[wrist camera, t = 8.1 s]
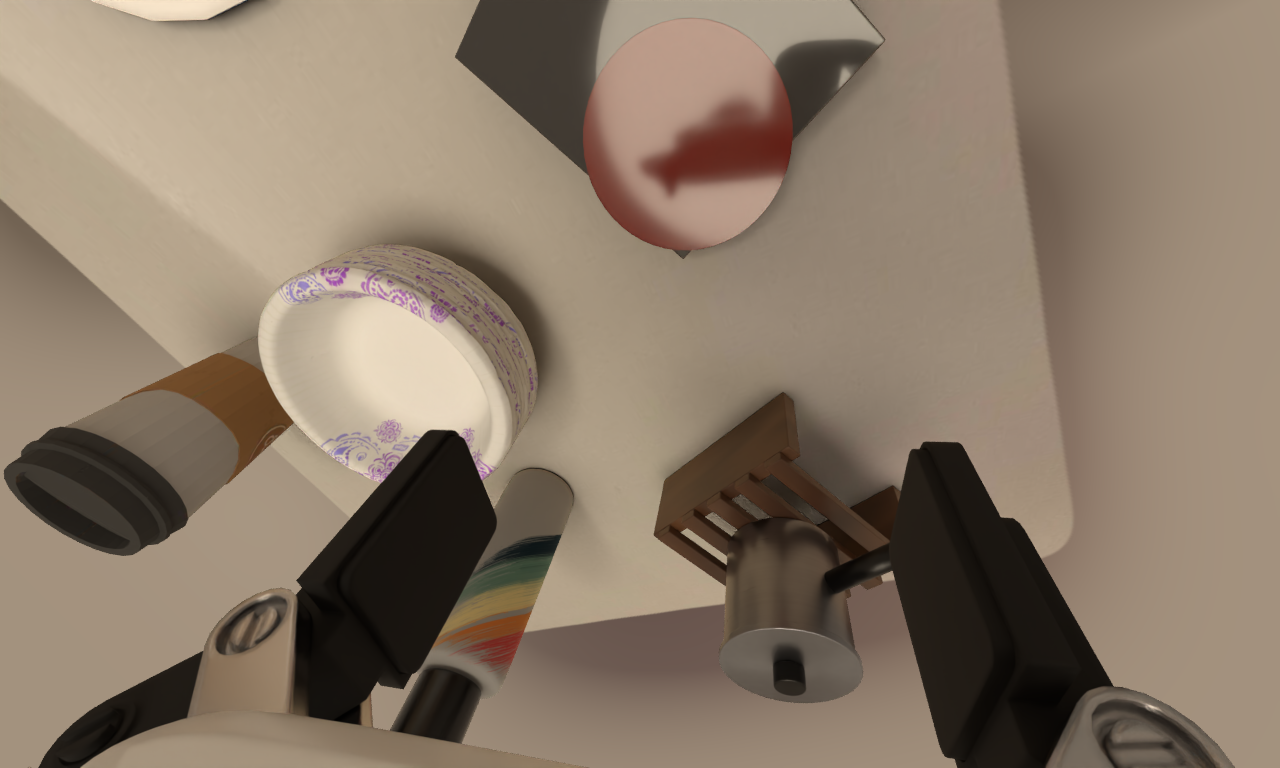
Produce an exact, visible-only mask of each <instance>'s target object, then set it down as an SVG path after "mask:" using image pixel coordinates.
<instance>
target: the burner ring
mask: <svg viewBox="0 0 1280 768" xmlns="http://www.w3.org/2000/svg"><path fill="white" fill-rule="evenodd" d="M792 139H793V122H792V114H791V107H790V103H789V99H788V95H787V91H786V89H785V86H784V84H783V81H782V79H781V77H780V75H779V73H778V71H777V70H776V68H775V66H774V64H773V63H772V61H771V60H770V59H769V58H768V56H767V55H766V54H765V53H764V51H763V50H762V49H761V48H760V47H759V46H758V45H757V44H756V43H754V42H753V41H752V40H751V39H750V38H749V37H747V36H746V35H744V34H743V33H741V32H740V31H738V30H736V29H734V28H732V27H730V26H728V25H725V24H723V23H720V22H716V21H712V20H709V19H700V18H681V19H674V20H669V21H665V22H661V23H659V24H656V25H654V26H651V27H649V28H647V29H645V30H643V31H642V32H640V33H638V34H637V35H635V36H633V37H632V38H631V39H630V40H628V41H627V42H626V43H625V44H623V45H622V46H621V47H620V48H619V49H618V50H617V52H616V53H615V54H614V55H613V56H612V57H611V58H610V60H609V61H608V62H607V64H606V65H605V66H604V68H603V69H602V71H601V73H600V75H599V77H598V78H597V80H596V82H595V84H594V87H593V89H592V92H591V94H590V97H589V100H588V104H587V108H586V112H585V119H584V126H583V147H584V157H585V162H586V166H587V171H588V174H589V177H590V180H591V183H592V185H593V187H594V190H595V192H596V194H597V196H598V198H599V199H600V201H601V202H602V204H603V206H604V207H605V209H606V210H607V211H608V212H609V214H610V215H611V216H612V217H613V218H614V219H615V220H616V221H617V222H618V223H619V224H620V225H621V226H622V227H623V228H624V229H626V230H627V231H628V232H630V233H631V234H632V235H634V236H636V237H637V238H639V239H641V240H643V241H645V242H647V243H650V244H652V245H655V246H658V247H662V248H666V249H672V250H698V249H704V248H708V247H712V246H715V245H718V244H720V243H723V242H726V241H727V240H729V239H731V238H733V237H735V236H737V235H738V234H740V233H741V232H743V231H744V230H745V229H747V228H748V227H749V226H750V225H751V224H753V223H754V222H755V221H756V220H757V219H758V218H759V217H760V216H761V214H762V213H763V212H764V211H765V210H766V209H767V207H768V206H769V204H770V203H771V201H772V200H773V198H774V197H775V195H776V193H777V191H778V190H779V188H780V186H781V184H782V181H783V179H784V176H785V173H786V171H787V167H788V163H789V159H790V155H791V148H792Z"/></svg>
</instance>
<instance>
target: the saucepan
mask: <svg viewBox="0 0 1280 768" xmlns="http://www.w3.org/2000/svg"><path fill="white" fill-rule="evenodd" d="M889 544H890V542H889V543H887V544H885V545H883V546H880V547H878V548H876V549H874V550H872V551H870V552H867V553H865V554H863V555H861V556H859V557H857V558H854V559H852V560H850V561H848V562H846V563H844V564H842V565H840V561H839V555H838V550H837V547H836V545H835V543H834V541H833V540H832V539H831V538H830V536H829V535H828V534H826V533H825V532H824V531H823V530H821V529H820V528H818V527H816V526H814V525H812V524H810V523H807V522H804V521H801V520H796V519H791V518H766V519H761V520H757V521H754V522H751V523H749V524H747V525H745V526H743V527H741V528H740V529H739V530H738V531H736V532H735V533H734V535H733V536H732V537H731V539H730V541H729V544H728V553H727V575H726V596H725V618H724V619H725V620H724V640H723V641H722V643H721V646H720V649H719V662H720V665H721V668H722V670H723V671H724V673H725V674H726V675H727V676H728V677H729V678H730V679H731V680H732V681H733V682H734V683H736V684H737V685H739V686H740V687H742V688H744V689H746V690H748V691H750V692H752V693H754V694H758V695H760V696H763V697H766V698H770V699H774V700H779V701H785V702H794V703H815V702H823V701H829V700H834V699H837V698H840V697H843V696H845V695H847V694H849V693H850V692H852V691H853V690H854V689H855V688H856V687H858V685H859V684H860V683H861V680H862V677H863V666H862V661H861V658H860V656H859V654H858V653H857V651H856V650H855V645H854V640H853V634H852V629H851V623H850V618H849V612H848V606H847V600H846V595H845V590H847V589H850V588H852V587H854V586H857V585H859V584H861V583H864V582H866V581H869V580H871V579H873V578H876V577H878V576H880V575H883V574H885V573H887V572H890V571H892V566H891V562H890V556H889Z"/></svg>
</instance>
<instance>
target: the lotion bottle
mask: <svg viewBox="0 0 1280 768" xmlns="http://www.w3.org/2000/svg"><path fill="white" fill-rule="evenodd" d="M572 505H573V494H572V492H571V490H570V488H569V486H568V485H567V484H566V483H565V482H564V481H563V480H562V479H561V478H560V477H558V476H557V475H555V474H553V473H551V472H548V471H545V470H541V469H526V470H523V471H520V472H518V473H517V474H516V475H515V476H514V477H513V478H512V479H511V481H510V482H509V484H508V485H507V487H506V489H505V490H504V492H503V494H502V496H501V497H500V499H499V501H498V503H497V504H496V506H495V508H494V512H495V514H496V517H497V527H496V530H495V533H494V535H493V536H492V538H491V540H490V542H489V544H488V546H487V547H486V549H485V551H484V553H483V555H482V557H481V558H480V560H479V562H478V564H477V566H476V568H475V569H474V571H473V573H472V575H471V577H470V579H469V580H468V582H467V584H466V586H465V588H464V590H463V591H462V593H461V595H460V597H459V599H458V601H457V603H456V604H455V606H454V608H453V610H452V612H451V614H450V615H449V617H448V619H447V621H446V623H445V625H444V626H443V628H442V630H441V632H440V634H439V636H438V637H437V639H436V641H435V643H434V645H433V647H432V648H431V650H430V652H429V654H428V656H427V658H426V659H425V661H424V663H423V665H422V666H421V668H420V669H419V670H418V671H417V673H418V674H419V677H418V679H417V680H416V682H415V684H414V686H413V688H412V690H411V692H410V694H409V695H408V697H407V699H406V701H405V703H404V705H403V707H402V708H401V711H400V712H399V714H398V716H397V718H396V720H395V721H394V723H393V725H392V727H391V729H390V731H394V732H399V733H405V734H410V735H416V736H421V737H427V738H432V739H438V740H443V741H448V742H454V743H459V744H461V743H462V741H463V738H464V736H465V734H466V731H467V729H468V727H469V724H470V722H471V720H472V717H473V715H474V712H475V710H476V708H477V705H478V703H479V700H480V699H487V698H490V697H493V696H495V695H496V694H497V693H498V692H499V691H500V689H501V687H502V685H503V683H504V680H505V678H506V675H507V673H508V670H509V668H510V665H511V663H512V660H513V658H514V655H515V653H516V650H517V647H518V645H519V643H520V640H521V637H522V635H523V632H524V630H525V627H526V625H527V622H528V620H529V617H530V614H531V612H532V609H533V607H534V604H535V602H536V599H537V597H538V594H539V592H540V589H541V586H542V584H543V581H544V579H545V576H546V574H547V571H548V569H549V566H550V563H551V561H552V558H553V556H554V553H555V551H556V548H557V546H558V543H559V540H560V538H561V535H562V533H563V530H564V528H565V525H566V523H567V520H568V517H569V514H570V512H571V509H572Z"/></svg>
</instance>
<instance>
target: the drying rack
mask: <svg viewBox="0 0 1280 768" xmlns="http://www.w3.org/2000/svg"><path fill="white" fill-rule="evenodd" d="M799 456H800V450H799V442H798V434H797V426H796V418H795V410H794V402H793V400H792V399H791V398H789V397H788V396H787V395H786V394H785V393H782V394H780V395H779V396H777V397H776V398H775V399H773V400H772V401H771V402H769V403H768V404H767V405H765V406H764V407H763V408H761V409H760V410H759V411H757V412H756V413H755V414H753V415H752V416H751V417H749V418H748V419H747V420H745V421H744V422H742V423H741V424H740V425H738V426H737V427H736V428H734V429H733V430H732V431H730V432H729V433H728V434H726V435H725V436H724V437H722V438H721V439H720V440H718V441H717V442H716V443H714V444H713V445H712V446H710V447H709V448H707V449H706V450H705V451H703V452H702V453H701V454H699V455H698V456H697V457H695V458H694V459H693V460H691V461H690V462H689V463H687V464H686V465H685V466H683V467H682V468H681V469H679V470H678V471H676V472H675V473H674V474H672V475H671V476H670V477H668V478H667V479H666V480H665V481H664V486H663V491H662V496H661V501H660V506H659V511H658V516H657V521H656V526H655V531H654V536H655V537H657V538H658V539H659V540H660V541H661V542H663V543H664V544H666V545H667V546H669V547H670V548H671V549H673V550H674V551H676V552H677V553H679V554H680V555H682V556H683V557H684V558H686V559H687V560H689V561H690V562H692V563H693V564H694V565H696V566H697V567H699V568H700V569H702V570H703V571H705V572H706V573H707V574H709V575H710V576H712V577H713V578H715V579H716V580H717V581H719V582H720V583H722V584H723V585H725V586H726V575H727V565H726V564H724V563H723V562H721V561H720V560H718V559H717V558H716V557H714V556H713V555H711V554H710V553H709V552H707V551H706V550H704V549H703V548H702V547H700V546H699V545H697V544H696V543H695V542H693V541H692V540H690V539H689V538H688V537H686V536H685V535H683V534H682V533H680V532H681V531H683V530H685V529H686V528H688V529H690V530H691V531H692V532H694V533H695V534H697V535H698V536H699V537H701V538H702V539H704V540H705V541H706V542H708V543H709V544H711V545H712V546H713V547H715V548H716V549H718V550H719V551H720V552H722V553H723V554H725V555H726V556H727V553H728V544H729V541H730V539H731V537H732V536H730V535H729V534H728V533H726V532H725V531H724V530H722V529H721V528H719V527H718V526H717V525H715V524H714V523H713V522H711V521H710V520H709V519H707V518H706V517H705V516H707V515H708V514H710V513H711V512H715V513H716V514H717V515H719V516H720V517H721V518H723V519H724V520H725V521H727V522H728V523H729V524H731V525H732V526H734V527H735V528H736V529H738V530H739V529H740V528H741V527H743V526H745V525H747V524H749V523H751V522H754V521H757V519H756V518H755V517H753V516H752V515H751V514H749V513H748V512H747V511H745V510H744V509H743V508H741V507H740V506H739V505H738V504H736V503H735V502H734V501H732V499H733V498H735V497H736V496H738V495H739V494H742V495H744V496H745V497H746V498H748V499H749V500H750V501H752V502H753V503H754V504H755V505H757V506H758V507H759V508H761V509H762V510H763V511H765V512H766V513H767V514H769V515H770V516H771V517H772V518H791V519H796V520H801V521H804V522H807V523H810V524H812V525H814V526H816V527H818V528H820V529H821V530H823V531H824V532H825V533H826V534H828V535H829V536H830V538H831V539H832V540H833V541H834V543H835V545H836V547H837V550H838V555H839V561H840V565H842V564H844V563H846V562H848V561H850V560H852V559H854V558H857V557H859V556H861V555H863V554H865V553H867V552H870V551H872V550H874V549H876V548H878V547H880V546H883V545H885V544H887V543H889V542H890V539H891V534H892V530H893V525H894V521H895V516H896V512H897V507H898V503H899V498H900V494H901V492H900V491H898V490H897V489H896V488H895V487H894V486H892V487H890V488H888V489H886V490H884V491H882V492H880V493H878V494H876V495H875V496H873V497H871V498H869V499H867V500H865V501H863V502H861V503H859V504H858V505H856V506H854V507H852V508H849V507H847V506H846V505H845V504H844V503H843V502H841V501H840V500H839V499H838V498H836V497H835V496H834V495H833V494H831V493H830V492H829V491H828V490H827V489H825V488H824V487H823V486H822V485H820V484H819V483H818V482H817V481H815V480H814V479H813V478H812V477H811V476H809V475H808V474H807V473H806V472H804V471H803V470H802V469H801V468H799V467H798V466H797V465H796V464H795V463H793V462H792V461H793V460H794V459H796V458H797V457H799ZM771 474H772V475H773V476H775V477H776V478H777V479H778V480H780V481H781V482H782V483H783V484H785V485H786V486H787V487H788V488H790V489H791V490H792V491H794V492H795V493H796V494H797V495H799V496H800V497H801V498H802V499H804V500H805V501H806V502H807V503H809V504H810V505H811V506H812V507H814V508H815V509H816V510H817V511H819V512H820V513H821V514H823V515H824V516H825V517H826V518H828V519H829V520H827V521H825V522H824V523H822V524H820V525H818V526H817V525H815V524H814V523H813V522H811V521H810V520H809V519H808V518H806V517H805V516H804V515H803V514H801V513H800V512H799V511H797V510H796V509H795V508H794V507H792V506H791V505H790V504H788V503H787V502H786V501H785V500H783V499H782V498H781V497H779V496H778V495H777V494H776V493H774V492H773V491H772V490H771V489H769V488H768V487H767V486H765V485H764V484H763V483H762V482H760V481H761V480H763V479H765V478H766V477H768V476H769V475H771ZM892 571H893V570H892ZM887 573H888V572H887ZM882 583H883V582H882V578H881V575H880V576H878V577H876V578H873V579H871V580H869V581H866V582H864V583H861V584H859V585H861V586H863V587H864V588H865V589H867V590H868V589H871V588H873V587H876V586H878V585H880V584H882ZM854 587H855V586H854ZM852 588H853V587H852ZM845 595H846V599H847V598H849V597H851V594H850V589H847V590H845Z"/></svg>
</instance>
